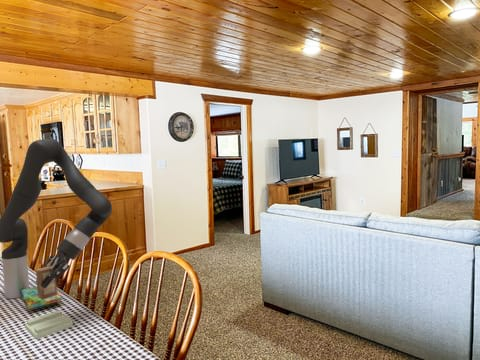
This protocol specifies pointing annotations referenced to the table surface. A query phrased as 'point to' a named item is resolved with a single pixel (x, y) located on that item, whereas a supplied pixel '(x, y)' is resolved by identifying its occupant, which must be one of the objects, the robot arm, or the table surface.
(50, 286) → the wooden block
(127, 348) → the table surface
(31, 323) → the plinth
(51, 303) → the puzzle game
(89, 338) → the table surface
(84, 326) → the table surface
